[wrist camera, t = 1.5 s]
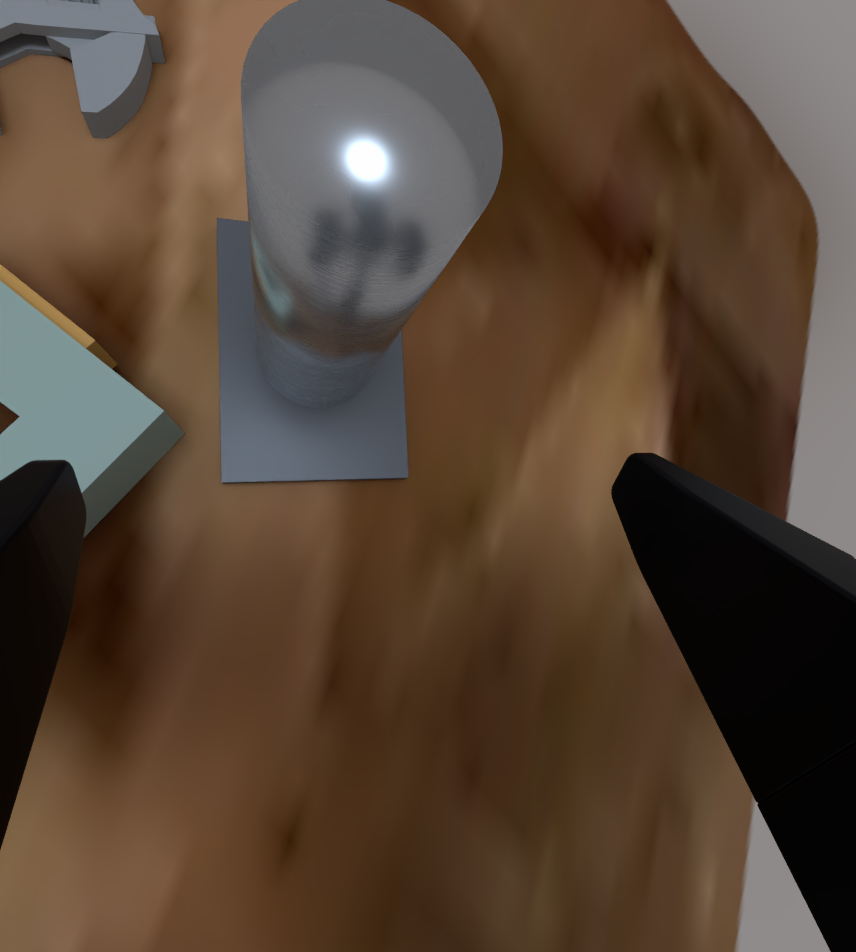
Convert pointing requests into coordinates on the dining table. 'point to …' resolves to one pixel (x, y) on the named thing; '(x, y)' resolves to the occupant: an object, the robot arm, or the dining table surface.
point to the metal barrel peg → (355, 183)
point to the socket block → (73, 403)
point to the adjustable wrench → (88, 51)
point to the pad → (287, 423)
